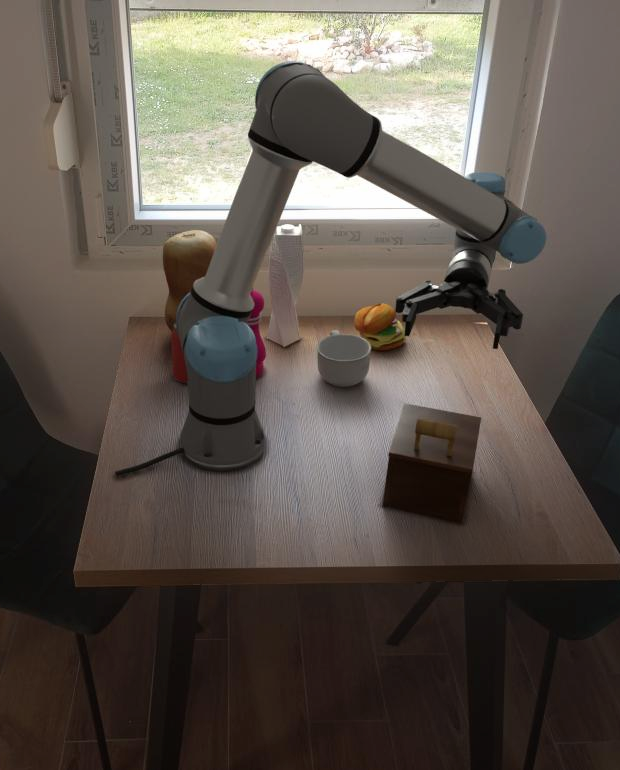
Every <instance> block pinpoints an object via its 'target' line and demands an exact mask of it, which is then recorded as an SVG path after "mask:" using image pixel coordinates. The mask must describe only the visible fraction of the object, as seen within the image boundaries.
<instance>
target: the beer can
mask: <svg viewBox="0 0 620 770" xmlns="http://www.w3.org/2000/svg"><path fill="white" fill-rule="evenodd" d="M173 327H174V328H173V330H172V332H171V335H170V336H171V337H170V338H171V339H170V340H171V358H172V360H171V361H172V363H171V364H172V376H173V378H174V379H175V380H176V381H177V382H179V383H181V384H188V375H187V368H186V364H185V359H184V355H183V351H182V347H181V343H180V339H179V336H178V333H177V328H176V322H175V323H174V325H173Z"/></svg>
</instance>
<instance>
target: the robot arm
mask: <svg viewBox="0 0 620 770" xmlns="http://www.w3.org/2000/svg"><path fill="white" fill-rule="evenodd" d="M254 98H255V99H254V106H255V113H254V115H253V118H252V121H251V123H250V126H249V130H248V133H247V135H246V138H247V141H248V143H249V145H250V149H251V150H250V154H249V157H248V159H247V162H246V165H245V168H244V170H243V173H242V175H241V177H240V181H239V184H238V186H237V189H236V192H235V194H234V197H233V200H232V203H231V205H230V208H229V211H228V213H227V216H226V219H225V221H224V223H223V227H222V230H221V233H220V235H219V238H218V240H217V242H216V244H217V246H216V249H215V251H214V254H213V257H212V260H211V262H210V265H209V268H208V270H207V273H206V276H205V277H203V278H200V279H198V280H196V281H195V282H194V284H193V287H192V289H191V292H190V293H188V294H187V295H186V296H185V297H184V298H183V300H182V301H181V303H180V305H179V307H178V311H177V317H176V328H177V333H178V336H179V339H180V343H181V347H182V351H183V355H184V359H185V364H186V368H187V375H188V383H187V393H188V398H187V399H188V412H187V414H186V417H185V420H184V423H183V426H182V428H181V432H180V437H179V448H177V449H174V450H172V451H169V452H167V453H164V454H162V455H160V456H157V457H155V458H152V459H150V460H147V461H145V462H143V463H139V464H137V465H132V466H129V467H126V468H122V469H119V470H115V472H114V474H115V476H116V477H119V476H123V475H128V474H131V473H135V472H137V471H140V470H143V469H146V468H149V467H151V466H154V465H156V464H159V463H160V462H163V461H165V460H168V459H171V458H173V457H175V456H178V455H180V454H181V455H182V457H183V458H184V459H185V460H186V461H187V462H188V463H189V464H191V465H192V466H195V467H197V468H198V469H202V470H206V471H210V472H233V471H239V470H243V469H244V468H245V469H246V468H247V467H249V466H252V465H253V464H255V463H256V462H257V461H259V459H260V458H261V457H262V456H263V454H264V452H265V447H266V435H265V430H264V426H263V424H262V422H261V421H260V417H259V416H258V412H257V410H256V396H257V395H256V393H257V391H256V389H257V378H256V359H257V352H258V351H257V344H256V338H255V335H254V333H253V331H252V329H251V328H250V327H249V326H248V325H247V323H248V320H249V318H250V315H251V313H252V310H253V308H254V301H253V299H252V297H251V295H250V293H251V290H252V288H253V286H255V283H256V280H257V277H258V275H259V273H260V270H261V267H262V264H263V263H264V260H265V257H266V255H267V252H268V250H269V249H270V248H269V247H270V246H271V241H272V238H273V235H274V233H275V230H276V228H277V226H278V225H279V223H280V221H281V220H280V219H281V218H282V215H283V212H284V210H285V207H286V205H287V202H288V200H289V197H290V195H291V192H292V190H293V187H294V185H295V182H296V180H297V178H298V175H299V173H300V170H301V169H303V168H306V167H308V166H310V165H312V164H313V163H316V164H318V165H320V166H322V167H324V168H327V169H329V170H332V171H333V172H335V173H337V174H339V175H341V176H343V177H345V178H348V179H351V178H353V177H356V176H357V177H360V178H361V179H363V180H365V181H367V182H369V183H371V184H373V185H374V186H376V187H378V188H380V189H382V190H383V191H385V192H388V193H390V194H391V195H393V196H395V197H397V198H398V199H400V200H402V201H404V202H405V203H408V204H410V205H411V206H414V207H415V208H417V209H419V210H421V211H423V212H425V213H427V214H428V215H430V216H432V217H434V218H436V219H438V220H440V221H441V222H443V223H446V224H447V225H449V226H450V227H453V228H455V232H454V233H455V234H454V240H453V248H452V255H451V259H450V262H449V264H448V267H447V270H446V273H445V276H444V279H443V281H442V283H441V284H439V285H434V284H432V281H431V280H430V279H425V280H423V282H422V283H421V284H420V285H418V286H416V287H414V288H412V289H410V290H408V291H406V292H404V293H403V294H400V295H399V296H396V298H395V309H394V310H395V312H396V314H401V313H402V315H401V316H402V317H401V321H402V323H405V324H404V325H405V327H404V331H405V332H404V333H405V335H404V336H406V337H410V335H411V333H412V330H413V328H414V325H415V322H416V319H417V315H419V314H422V313H425V312H428V311H431V310H435V309H437V308H439V309H440V310H442V309H445V308H449V307H454V308H464V309H468V310H469V309H470V310H472V311H473V312H474V313H475V314H476V315H479V314H481V315H482V316H484V317H485V318H487V319H488V320H489V321H490V322H492V323H494V324H495V325H496V326H495V332H494V338H493V344H492V349H494V350H498V348H499V344H500V339H501V337H508V336H509V331H510V328H513V329H514V330H521V328H522V324H523V319H524V313H523V312H522V311H521V310H520V309H519V308H518V307H517V306H516V305H515V303H514V302H513V301H512V300H511V299H510V297H508V296H507V291H506V290H505V289H503V288H499V289H498V290H497V291H496V292H489V290H488V287H489V283H490V278H491V275H492V268H493V264H494V262H495V261H496V260H495V259H496V255H497V253H498V254H499V255H500V256H501V257H502V258H504V259H506V260H508V261H509V262H510V263H513V264H516V265H517V264H518V265H522V264H527V263H530V262H532V261H534V260H535V259H536V258H537V257H539V256H540V254H541V253H542V251H543V249H544V248H545V246H546V242H547V232H546V229H545V228H544V226H543V225H542V224H541V222H539V221H538V219H537V218H535V217H533V216H531V215H529V214H528V213H527V212H525V211H524V210H523V209H521V208H520V207H518V206H517V205H516V204H515V203H514V202H513V201H511V200H510V199H509V198H507V197H506V196H505V194H506V191H507V190H506V179H505V177H504V176H503V175H501V174H498V173H496V172H492V171H491V172H490V171H475V172H470V173H468V174H467V175H465V176H463V175H461V174H460V173H458V172H456V171H455V170H453V169H451V168H449V167H448V166H446V165H445V164H443V163H441V162H440V161H438V160H436V159H434V158H433V157H431V156H429V155H427V154H426V153H424V152H422V151H421V150H418V149H417V148H415V147H414V146H412V145H410V144H409V143H407V142H405V141H403V140H401V139H400V138H398V137H396V136H395V135H393V134H391V133H389V132H388V131H386V130H385V129H383V126H382V122H381V120H380V118H378V117H377V116H375V115H373V114H371V113H370V112H369V111H367V110H365V109H364V108H363V107H361V106H360V105H359V104H357V102H355V101H354V100H353V99H352V98H351V97H349V96H348V95H347V93H345V92H344V90H342V89H341V88H340V87H339V86H338V85H337V84H336V83H335V82H333V80H331V79H329V78H328V77H326V76H325V75H324V74H323V72H322V71H321V70H320V69H318V68H316V67H314V66H312V65H311V64H308V63H305V62H303V61H297V60H289V61H288V60H287V61H283V62H280V63H277V64H276V65H273V66H272V67H271V68H270V69H268V70H267V71H266V72H265V73H264V74H263V75H262V77H261V78H260V80H259V82H258V84H257V87H256V89H255V97H254Z"/></svg>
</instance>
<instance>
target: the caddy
mask: <svg viewBox="0 0 620 770" xmlns="http://www.w3.org/2000/svg"><path fill="white" fill-rule="evenodd" d="M472 475H473V472H472V473H468V472H463V471H458V470H453V469H448V468H443V467H438V466H433V465H428V464H423V463H418V462H413V461H409V460H404V459H399V458H394V457H389V456H388V461H387V468H386V477H385V483H384V490H383V497H382V508H383V507H384V508H388V509H392V510H397V511H400V512H401V511H402V512H406V513H410V514H414V515H420V516H424V517H428V518H433V519H438V520H442V521H447V522H450V523H456V524H461V525H463V521H464V515H465V511H466V504H467V501H468V496H469V491H470V485H471V480H472Z"/></svg>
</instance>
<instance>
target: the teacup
mask: <svg viewBox="0 0 620 770" xmlns="http://www.w3.org/2000/svg"><path fill="white" fill-rule="evenodd" d="M371 351H372V348H371V345H370V344H369V342H368V341H367V340H365V339H364V338H362V337H361V336H360V335H355V334H351V333H340V332H339V330H337V329H333V330H331V331H330V333H329V335H328V336H325V337H323V338H321V339H320V340H319V341H318V343H317V344H316V352H317V353H316V354H317V355H316V358H317V360H316V361H317V370H318V373H319V376H320V377H321V378H322V379H323V380H324V381H325V382H327V383H329V384H330V385H332V386H335V387H339V388H349V387H353V386H356V385H357V384H359V383H360V382H362V381H363V380H364V379H365V378H366V377H367V375H368V374H369V369H370V363H371Z"/></svg>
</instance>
